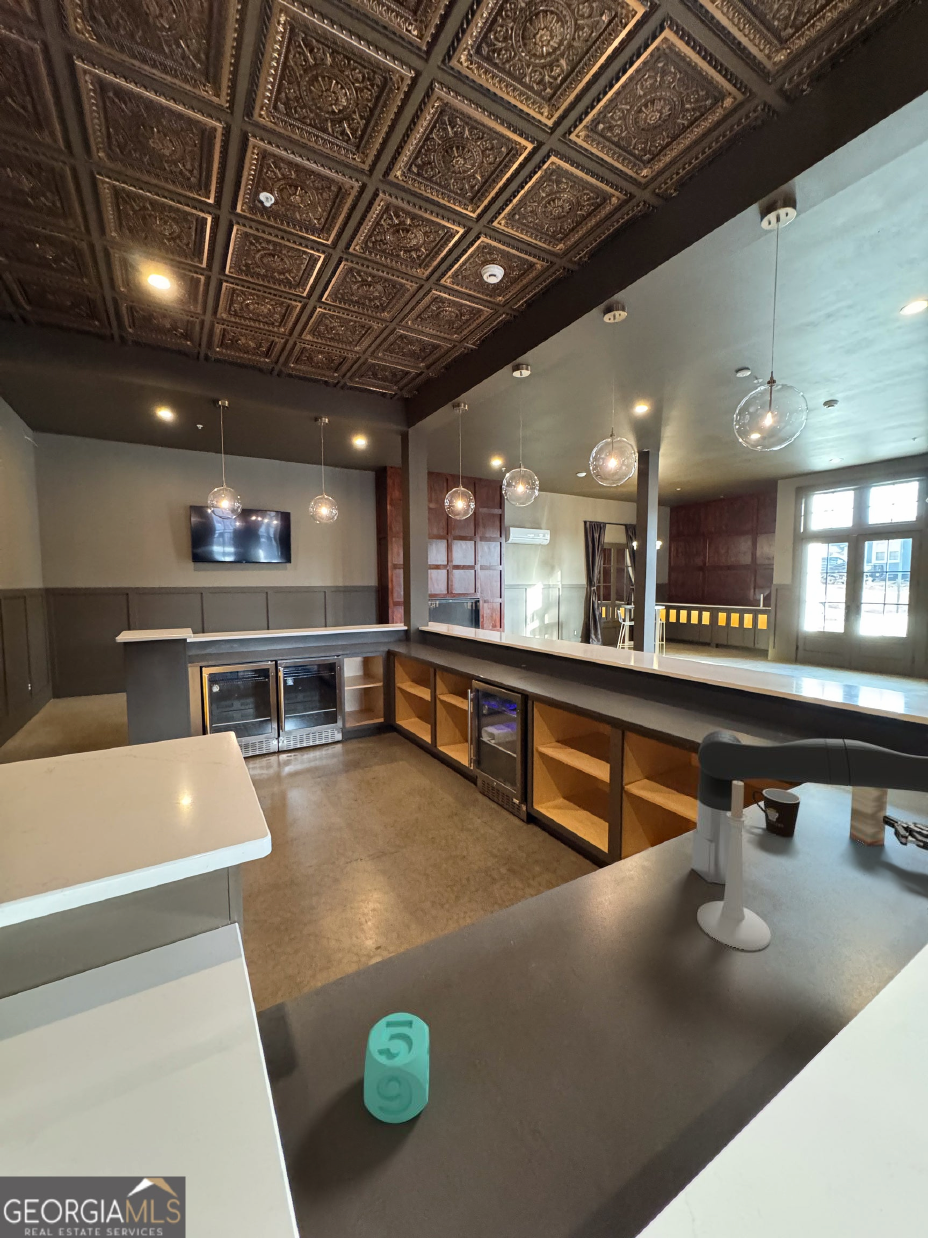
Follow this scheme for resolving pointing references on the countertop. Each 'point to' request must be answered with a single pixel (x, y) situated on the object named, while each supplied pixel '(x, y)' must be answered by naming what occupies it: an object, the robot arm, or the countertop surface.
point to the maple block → (868, 815)
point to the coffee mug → (779, 811)
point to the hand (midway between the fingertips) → (885, 819)
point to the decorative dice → (397, 1068)
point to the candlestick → (734, 893)
